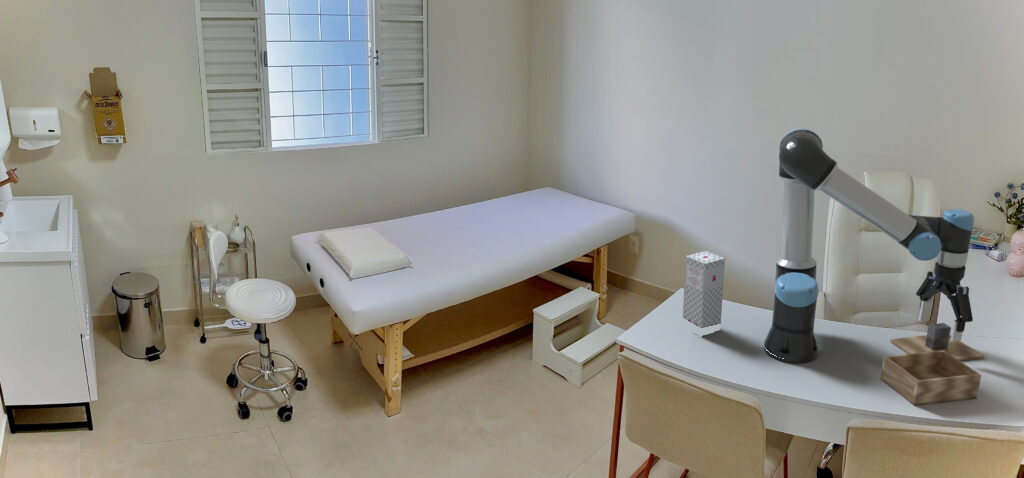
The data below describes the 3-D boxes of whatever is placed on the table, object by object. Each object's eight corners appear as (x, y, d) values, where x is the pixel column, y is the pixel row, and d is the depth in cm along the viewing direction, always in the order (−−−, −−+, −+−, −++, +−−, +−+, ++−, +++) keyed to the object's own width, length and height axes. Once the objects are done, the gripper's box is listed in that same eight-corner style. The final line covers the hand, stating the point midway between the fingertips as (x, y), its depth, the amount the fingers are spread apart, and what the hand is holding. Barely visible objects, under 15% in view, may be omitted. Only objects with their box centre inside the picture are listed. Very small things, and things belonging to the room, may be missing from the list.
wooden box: (914, 405, 186) (918, 382, 184) (880, 378, 199) (883, 356, 197) (976, 398, 188) (981, 374, 186) (939, 372, 201) (943, 350, 199)
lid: (924, 366, 205) (928, 340, 203) (890, 343, 219) (893, 318, 217) (983, 359, 208) (988, 333, 205) (945, 337, 222) (950, 312, 219)
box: (682, 327, 234) (685, 256, 226) (701, 321, 238) (705, 250, 230) (700, 337, 227) (705, 263, 219) (720, 330, 231) (725, 258, 223)
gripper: (996, 278, 193) (982, 348, 200) (932, 248, 217) (922, 311, 224) (971, 280, 192) (958, 350, 199) (909, 250, 216) (899, 314, 223)
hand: (939, 330), depth 211 cm, fingers open, 13 cm apart
